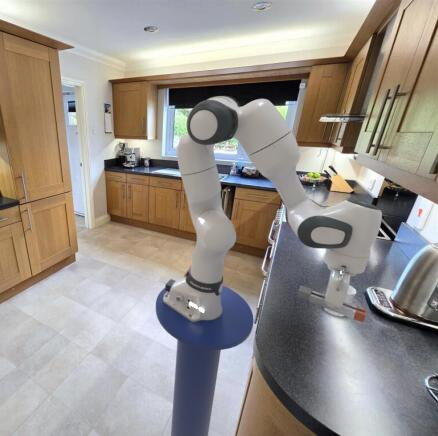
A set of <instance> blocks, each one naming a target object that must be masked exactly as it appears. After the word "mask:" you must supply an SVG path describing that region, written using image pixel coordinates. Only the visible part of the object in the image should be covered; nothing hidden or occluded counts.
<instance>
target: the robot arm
mask: <svg viewBox="0 0 438 436" xmlns="http://www.w3.org/2000/svg"><path fill="white" fill-rule="evenodd" d="M186 131H187V132H186V133H184V134H182V135H181V136H180V137H179V138H178V139H177V141H176V148H175V149H176V157H177V159H176V160H177V164H178V170H179V174H180V177H181V182H182V185H183V188H184V193H185V197H186V200H187V205H188V210H189V214H190V218H191V222H192V225H193V228H194V230H195V234H196V243H195V246H194V250H193V251H192V255H191V263H190V264H191V265H190V266H189V267H188V268H189V269H187V270H186V272H185V273H184V275H183V276H181V277H180V278H178V279H176V280H175V279H172V278H170V279H169V280H168V281H167V282H166V283H165V286H164V288H165V290H166V291H167V292H166V293H165V295H164V297H163V302H164V303H166V304H167V305H168V306H170V307H171V308H173V309H174V310H176V311H177V312H179V313H180V314H182V315H183V316H184V317H186V318H187V319H189V320H190V321H192V322H196V321H200V320H213V319H216V318H218V317H219V316H220V315H221V314H222V305H221V291H222V287H223V286H224V276H223V274H224V266H225V260H226V256H227V254H228V252H229V250H230V249H232V248H233V247H234V246H235V243H236V241H237V232H236V229H235V225H234V223H233V222H232V221H231V219H230V218H229V217H228V216H227V215H226V212H224V209H223V205H222V184H221V180H220V176H219V171H218V166H217V161H216V157H215V152H214V151H215V145H217V144H219V143H224V142H228V141H230V140H232V139H235V140H236V141H238V142H239V144H240V146H242V148H243V150H244V152H245V154H246V155H247V157H248V159H249V160H250V162H251V163H252V165H253V166H254V168H255V169H256V170H257V171H258V172H259V173H260V175H262V177H264V178H265V179H267V180H269V181H270V182H271V183H272V184H273V186H274V188H275V190H276V192H277V193H278V195H279V197H280V199H281V201H282V202H283V205H284V212H285V214H284V215H285V220H286V224H287V226H288V227H289V228H290V229H291V230H292V231H293V233H294V235H295V236H296V238H297V239H298V240H299V241H300V242H301V244H302V245H304V246H306V247H308V248H312V249H323V250H325V253H324V256H323V262H324V263H325V264H326V265H327V266H326V267H327V269H328V270H329V271H330V273H329V278H328V282H327V286H328V287H326V290H327V292H326V291H325V294H326V296H325V302H326V303H327V306H328V307H331V308H334V307H335V306H336V307H342V306H343V303H344V300H345V297H346V294H347V291H348V288H349V285H350V284H351V278H352V277H356V276H357V275H358V274H359V275H360V274H363V273H364V272H365V270H366V268H367V265H368V262H369V259H370V256H371V248H372V246H373V244H374V243H375V242H376V240H377V238H378V235H379V231H380V229H381V224H382V220H383V219H382V218H383V213H382V210H381V209H380V208H379V207H378V206H376V205H374V204H372V203H369V202H366V201H365V200H364V201H363V200H359V199H355V198H347V199H345V200H343V201H341V202H340V203H337V204H335V205H332V206H328V207H322V206H321V205H320V204H319V203H318V202H316V201H315V200H313V199H311V198H310V197H309V195H308V194H307V192H306V190H305V188H304V186H303V184H302V182H301V180H300V179H299V176H298V173H297V165H298V164H299V161H300V159H301V151H300V148H299V144H298V142H297V139H296V137H295V134H294V133H293V131H292V129H291V127H290V125H289V124H288V122H287V120H286V118H285V117H284V116H283V115H282V113H281V112H280V111H279V109H277V107H276V106H275V104H273V103H272V102H271V101H270V100H269V99H267V98H258V99H255V100H252V101H250V102H248V103H246V104H245V105H243V106H241V105H240V103H239V101H238V100H237V99H236V98H233V97H232V96H229V95H217V96H212V97H209V98H207V99H205V100H202V101H200V102H198V103H197V104H196V105H195V106H194V107H193V108H192V109H191V110H190V112H189V114H188V116H187V119H186Z"/></svg>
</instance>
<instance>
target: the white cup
mask: <svg viewBox="0 0 438 436" xmlns="http://www.w3.org/2000/svg"><path fill="white" fill-rule="evenodd" d="M327 287H328V285H327ZM327 287H326V288H327ZM326 292H327V289H326V291H325V293H324V295H326ZM356 294H357V290H356V288H355V287H354V286H352V285H350V284H349V288H348V291H347V294H346V297H345V300H344V302H347V303H350V304H353V301H354V299H355V296H356ZM323 309H324V311H325V312H327V313H328V314H330V315H332V316H335V317H339V318H343V317H346V316H345V315H342V314H339V313H337V312H334V311H331V310H329V309H326V308H323Z"/></svg>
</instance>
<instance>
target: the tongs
mask: <svg viewBox="0 0 438 436" xmlns="http://www.w3.org/2000/svg"><path fill="white" fill-rule="evenodd" d="M325 296H326V295H325V293H321V292H318V291H315V290H313V288H310V287H308V286H304V285H302V284H301V285H300V286H299V288H298V291H297V296H296V298H297V299H299V300H302V301H304V302H308V303H310V304H313V305H316V306H318V307H321V308H323V309H324V308H326V309H329V310H331V311H334V312H337V313H339V314H342V315H345V316H344V317H348V318H351V319H353V320H354V321H357V322H360V323H364V321H365V319H366V317H367V316H366V315H367V314H366V310H367V309H366V308H365V307H362V306H359V305H355V304H353V303H351V304H350V303H347V302H344V303H343V306H342V307H336V306H335V307H334V308H331V307H328V306H327V303H326V302H325Z"/></svg>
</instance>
